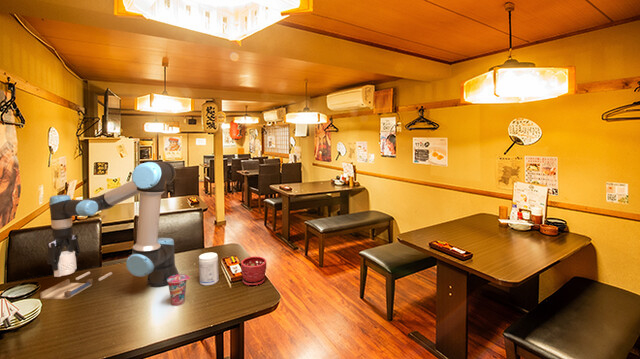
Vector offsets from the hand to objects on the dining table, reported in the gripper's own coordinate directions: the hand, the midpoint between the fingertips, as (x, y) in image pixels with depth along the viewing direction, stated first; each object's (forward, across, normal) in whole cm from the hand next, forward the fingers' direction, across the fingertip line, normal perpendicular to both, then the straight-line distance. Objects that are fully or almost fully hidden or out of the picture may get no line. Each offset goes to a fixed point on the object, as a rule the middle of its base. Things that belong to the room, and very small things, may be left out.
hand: (65, 272), depth 140 cm
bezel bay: (+10, 0, 0) cm, 10 cm away
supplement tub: (+9, -14, +65) cm, 67 cm away
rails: (+10, -16, 0) cm, 19 cm away
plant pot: (+9, -15, +89) cm, 91 cm away
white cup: (0, 0, 0) cm, 0 cm away
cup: (+9, +7, +60) cm, 61 cm away
